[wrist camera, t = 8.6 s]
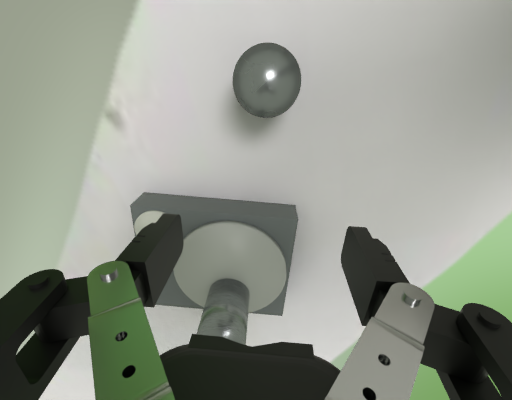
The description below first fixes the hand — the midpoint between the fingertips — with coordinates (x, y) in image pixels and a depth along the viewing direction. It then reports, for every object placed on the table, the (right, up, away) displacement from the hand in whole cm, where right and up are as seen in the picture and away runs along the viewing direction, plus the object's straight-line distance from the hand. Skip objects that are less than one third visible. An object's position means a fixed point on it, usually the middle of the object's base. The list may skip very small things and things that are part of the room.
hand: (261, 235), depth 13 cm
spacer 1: (-3, -8, +15) cm, 18 cm away
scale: (-5, -4, +18) cm, 19 cm away
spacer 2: (+1, +12, +10) cm, 15 cm away
